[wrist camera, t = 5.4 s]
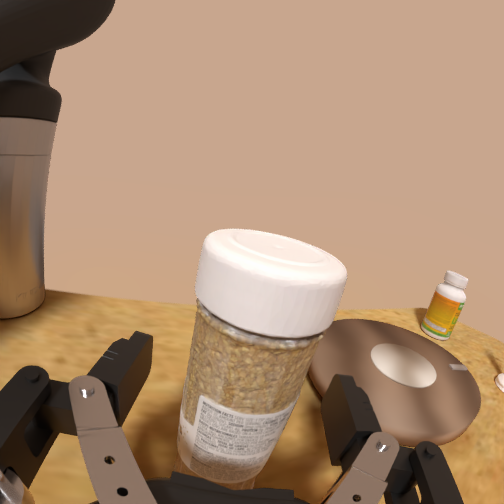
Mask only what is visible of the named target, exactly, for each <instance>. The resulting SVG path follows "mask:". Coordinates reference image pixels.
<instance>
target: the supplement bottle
mask: <svg viewBox="0 0 504 504" xmlns="http://www.w3.org/2000/svg"><path fill="white" fill-rule="evenodd" d="M444 280H445V281H444V283H441V284H439V285H438V286H437V288H436V290H435V293H434V295H433V298H432V300H431V303H430V305H429V307H428V310H427V312H426V315H425V317H424V319H423V322H422V324H421V328H422V330H423V331H424V332H425V333H426V334H427V335H429V336H431V337H433V338H435V339H438V340H447V339H448V338H449V337H450V335H451V332H452V330H453V328H454V326H455V324H456V321H457V319H458V317H459V315H460V312H461V310H462V308H463V305H464V303H465V300H466V295H465V293H464V292H463V290H464V289H465V288H466V286H467V283H468V279H467V278H465V277H464V276H462V275H460V274H457V273H455V272H452V271H447V272H446V274H445V277H444Z"/></svg>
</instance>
